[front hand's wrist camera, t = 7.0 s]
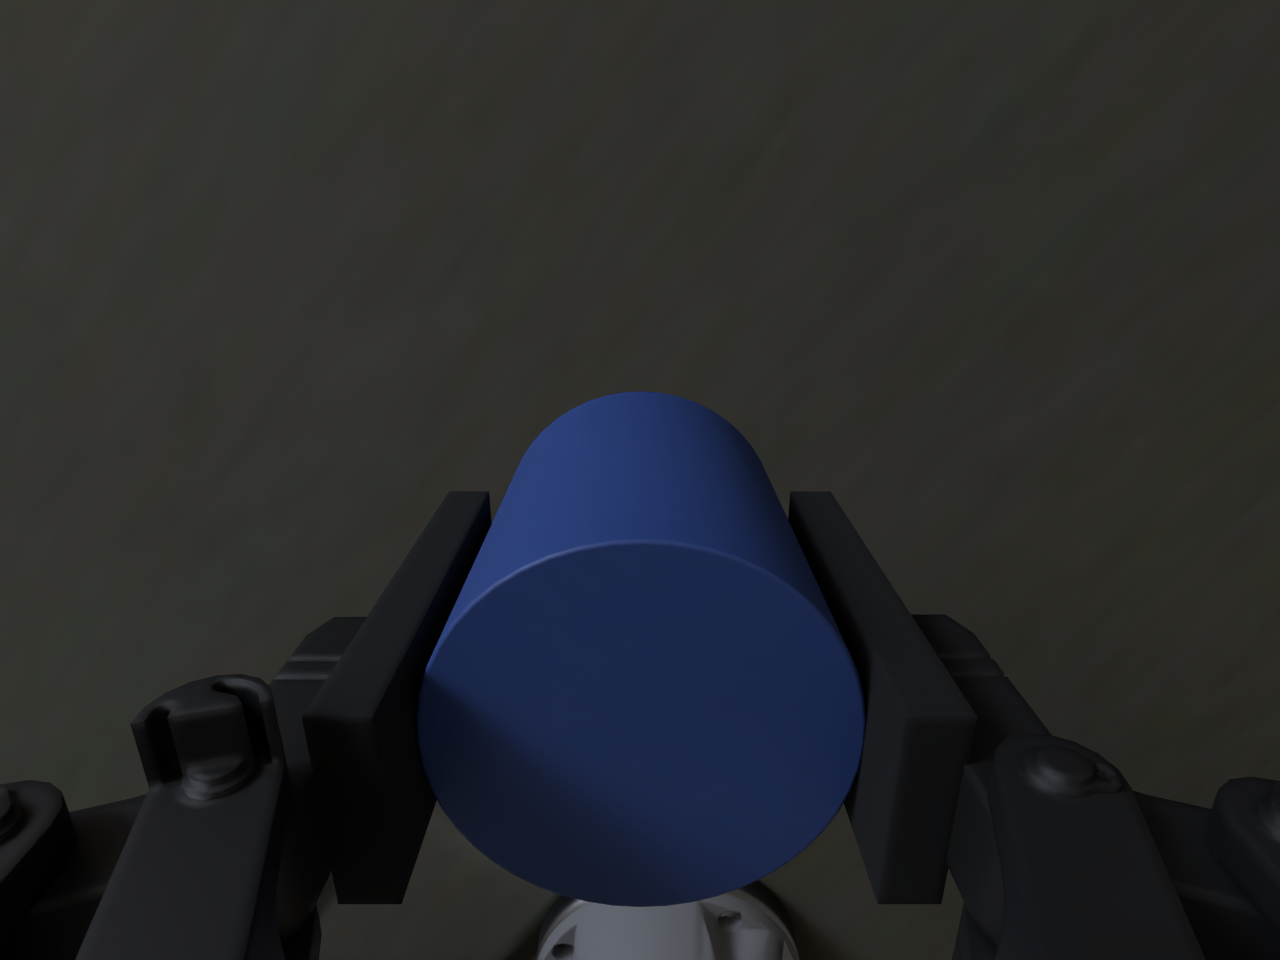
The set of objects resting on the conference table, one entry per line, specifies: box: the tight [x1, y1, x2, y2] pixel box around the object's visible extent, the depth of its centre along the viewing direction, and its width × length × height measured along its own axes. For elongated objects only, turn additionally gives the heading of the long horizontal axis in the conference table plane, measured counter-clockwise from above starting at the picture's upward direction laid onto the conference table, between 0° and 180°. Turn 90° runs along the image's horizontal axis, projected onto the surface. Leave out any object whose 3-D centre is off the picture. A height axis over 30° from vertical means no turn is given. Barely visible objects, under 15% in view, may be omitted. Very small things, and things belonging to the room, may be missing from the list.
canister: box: [416, 392, 866, 907], centre depth 13 cm, size 6×6×7 cm
